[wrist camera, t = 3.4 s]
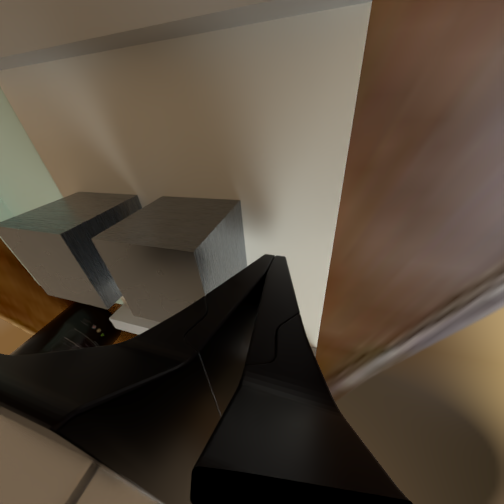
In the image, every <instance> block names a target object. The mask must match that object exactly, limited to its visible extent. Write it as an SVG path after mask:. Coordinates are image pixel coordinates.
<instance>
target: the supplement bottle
mask: <svg viewBox="0 0 504 504" xmlns="http://www.w3.org/2000/svg"><path fill="white" fill-rule="evenodd" d="M111 316H112V315H111V314H110V313H109V312H108V311H106V310H105V309H103V308H100V307H96V306H92V305H88V304H83V303H79V302H75V303H73V304H72V305H70V306H69V307H68V308H67V309H65V310H64V311H63V312H62V313H60V314H59V315H58V316H57V317H55V318H54V319H53V320H52V321H51V322H49V323H48V324H47V325H46V326H44V327H43V328H42V329H41V330H40V331H38V332H37V333H36V334H35V335H33V336H32V337H31V338H30V339H28V340H27V341H26V342H25V343H24V344H22V345H21V346H20V347H19V348H17V349H16V350H15V351H14V352H12V353H11V354H10V355H31V354H40V353H49V352H57V351H66V350H74V349H82V348H91V347H99V346H108V345H112V344H113V343H114V342H115V341H116V340H117V339H118V337H119V336H120V334H121V330H120V329H116V328H115V327H114V325H113V324H112V322H111V321H110V319H109V318H110V317H111Z"/></svg>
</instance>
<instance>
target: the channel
mask: <svg viewBox="0 0 504 504" xmlns="http://www.w3.org/2000/svg"><path fill="white" fill-rule="evenodd" d="M371 4H372V0H0V87H1V89H2V90H3V92H4V94H5V96H6V97H7V99H8V101H9V103H10V105H11V106H12V108H13V110H14V112H15V113H16V115H17V117H18V119H19V120H20V122H21V124H22V126H23V127H24V129H25V131H26V133H27V134H28V136H29V138H30V140H31V141H32V143H33V145H34V147H35V148H36V150H37V152H38V154H39V155H40V157H41V159H42V161H43V163H44V164H45V166H46V168H47V170H48V171H49V173H50V175H51V177H52V178H53V180H54V182H55V184H56V185H57V187H58V189H59V191H60V192H61V194H62V196H63V198H64V197H66V196H69V195H72V194H74V193H77V192H93V193H112V194H132V195H138V198H139V201H140V204H141V206H142V208H143V207H145V206H147V205H148V204H150V203H152V202H153V201H155V200H157V199H158V198H160V197H162V196H170V197H189V198H209V199H228V200H240V202H241V212H242V221H243V231H244V240H245V250H246V260H247V266H248V265H250V264H251V263H253V262H254V261H256V260H257V259H259V258H260V257H261V256H263V255H264V254H270V255H275V256H276V255H278V256H285V257H286V260H287V264H288V267H289V271H290V275H291V279H292V283H293V287H294V291H295V295H296V299H297V303H298V307H299V311H300V315H301V318H302V322H303V325H304V329H305V332H306V335H307V338H308V341H309V343H310V346H311V349H312V351H313V353H314V356H315V358H316V347H317V341H318V335H319V329H320V322H321V316H322V310H323V304H324V297H325V291H326V285H327V279H328V272H329V266H330V260H331V254H332V248H333V241H334V235H335V229H336V223H337V216H338V210H339V204H340V198H341V191H342V185H343V179H344V173H345V166H346V160H347V154H348V148H349V141H350V135H351V129H352V123H353V116H354V110H355V104H356V98H357V91H358V85H359V79H360V73H361V67H362V60H363V54H364V48H365V42H366V35H367V29H368V23H369V17H370V10H371ZM121 300H122V301H123V303H124V304H123V305H122V306H121V307H120V308H119V309H118V310H117V311H116V312H115V313H114V314H113V315H112V316H111V317H110V318H109V319H110V321H111V322H112V324H113V325H114V327H115V328H116V329H120V330H123V331H127V332H131V333H134V334H138V335H139V334H141V333H143V332H145V331H147V330H148V329H150V328H152V327H154V326H155V325H157V324H159V323H161V322H157V321H153V320H149V319H145V318H141V317H136V316H134V315H133V313H132V311H131V310H130V308H129V306H128V304H127V302H126V301H125V299H124V297H123V296H122V297H121Z"/></svg>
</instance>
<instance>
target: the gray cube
mask: <svg viewBox="0 0 504 504" xmlns="http://www.w3.org/2000/svg"><path fill="white" fill-rule="evenodd" d="M140 209H142V206H141V204H140V201H139V198H138V195H132V194H112V193H93V192H77V193H74V194H72V195H69V196H66V197H64V198H61V199H59V200H56V201H54V202H51V203H48V204H46V205H43V206H41V207H38V208H35V209H33V210H30V211H28V212H25V213H22V214H20V215H17V216H15V217H12V218H10V219H7V220H4V221H2V222H0V237H1V238H2V239H3V240H4V241H5V243H6V244H7V245H8V246H9V248H10V249H11V250H12V251H13V252H14V254H15V255H16V256H17V257H18V259H19V260H20V261H21V262H22V263H23V265H24V266H25V267H26V268H27V270H28V271H29V272H30V273H31V274H32V276H33V277H34V278H35V279H36V281H37V282H38V283H39V284H40V285H41V287H42V288H43V289H44V290H45V292H46V293H47V294H48V295H51V296H55V297H59V298H63V299H67V300H71V301H75V302H79V303H83V304H88V305H92V306H96V307H100V308H104V309H109V308H110V307H111V306H112V305H113V304H114V303H115V302H116V301H118V300H119V299H120V298H121V297H122V296H123V295H122V293H121V292H120V290H119V288H118V286H117V284H116V283H115V281H114V279H113V277H112V275H111V274H110V272H109V270H108V268H107V266H106V265H105V263H104V261H103V259H102V257H101V256H100V254H99V252H98V250H97V248H96V247H95V245H94V243H93V241H92V239H91V238H93V237H94V236H96V235H98V234H99V233H101V232H103V231H105V230H106V229H108V228H110V227H111V226H113V225H115V224H116V223H118V222H120V221H121V220H123V219H125V218H126V217H128V216H130V215H131V214H133V213H135V212H136V211H138V210H140Z"/></svg>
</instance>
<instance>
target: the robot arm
mask: <svg viewBox="0 0 504 504" xmlns="http://www.w3.org/2000/svg"><path fill="white" fill-rule="evenodd" d="M0 504H412V502H411V501H410V500H409V499H407V497H405V495H404V494H403V493H402V492H401V491H400V490H399V488H398V487H397V486H396V485H395V484H394V482H393V481H392V480H391V478H390V477H389V476H388V474H387V473H386V472H385V470H384V469H383V468H382V466H381V465H380V464H379V463H378V461H377V460H376V459H375V457H374V456H373V455H372V453H371V452H370V451H369V449H368V448H367V447H366V446H365V444H364V443H363V442H362V440H361V439H360V438H359V436H358V435H357V434H356V432H355V431H354V430H353V428H352V427H351V426H350V425H349V423H348V422H347V421H346V419H345V418H344V417H343V415H342V414H341V412H340V410H339V409H338V407H337V405H336V403H335V401H334V399H333V397H332V395H331V393H330V391H329V388H328V386H327V384H326V381H325V379H324V377H323V374H322V372H321V370H320V367H319V365H318V363H317V360H316V358H315V356H314V353H313V351H312V349H311V346H310V343H309V341H308V338H307V335H306V332H305V329H304V325H303V322H302V318H301V315H300V311H299V307H298V303H297V299H296V295H295V291H294V287H293V283H292V279H291V275H290V271H289V267H288V264H287V260H286V257H285V256H278V255H276V256H275V255H270V254H264V255H263V256H261V257H260V258H259V259H257V260H256V261H254V262H253V263H251V264H250V265H248V266H247V267H245V268H244V269H243V270H241V271H240V272H238V273H237V274H235V275H234V276H232V277H231V278H229V279H228V280H226V281H225V282H224V283H222V284H221V285H219V286H218V287H216V288H215V289H213V290H212V291H210V292H209V293H208V294H206V296H203V297H202V298H200V299H199V300H197V301H196V302H194V303H193V304H191V305H190V306H188V307H186V308H185V309H183V310H182V311H180V312H178V313H176V314H175V315H173V316H171V317H170V318H168V319H166V320H164V321H163V322H161V323H159V324H157V325H155V326H154V327H152V328H150V329H148V330H147V331H145V332H143V333H141V334H139V335H138V336H136V337H134V338H132V339H129V340H127V341H125V342H121V343H118V344H114V345H108V346H99V347H91V348H82V349H74V350H66V351H57V352H49V353H40V354H31V355H4V354H0Z"/></svg>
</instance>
